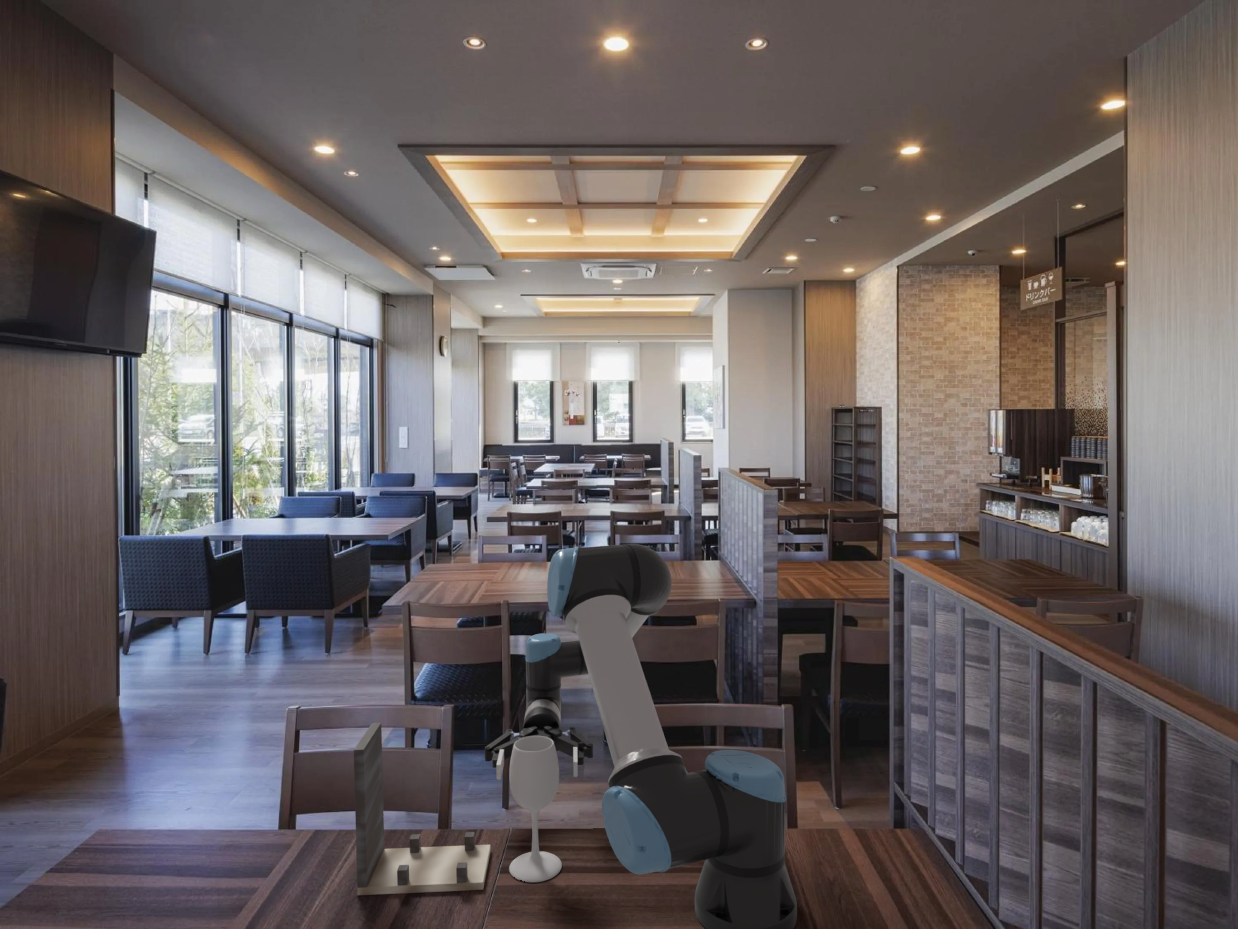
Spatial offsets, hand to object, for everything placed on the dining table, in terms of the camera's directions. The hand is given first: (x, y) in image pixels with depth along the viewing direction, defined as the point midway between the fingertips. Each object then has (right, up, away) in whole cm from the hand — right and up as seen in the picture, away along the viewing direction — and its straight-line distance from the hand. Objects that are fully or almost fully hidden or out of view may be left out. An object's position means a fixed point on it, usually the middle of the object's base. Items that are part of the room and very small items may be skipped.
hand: (537, 771), depth 136 cm
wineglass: (+1, -13, -9) cm, 16 cm away
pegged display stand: (-17, -13, -10) cm, 23 cm away
